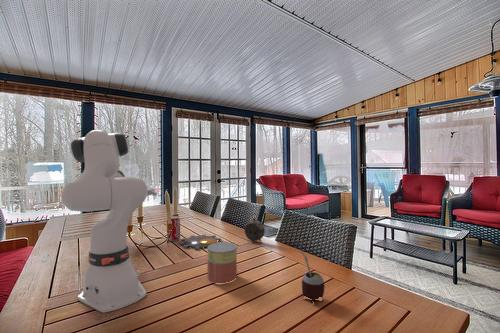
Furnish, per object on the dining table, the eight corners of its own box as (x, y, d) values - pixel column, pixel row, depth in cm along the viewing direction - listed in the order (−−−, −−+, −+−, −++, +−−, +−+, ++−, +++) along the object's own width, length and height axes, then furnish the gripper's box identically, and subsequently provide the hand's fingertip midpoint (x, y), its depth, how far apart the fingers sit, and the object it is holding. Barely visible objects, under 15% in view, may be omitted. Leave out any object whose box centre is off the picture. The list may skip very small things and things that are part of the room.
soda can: (176, 242, 139) (176, 218, 138) (164, 241, 140) (164, 218, 140) (182, 238, 146) (182, 216, 145) (170, 237, 147) (170, 215, 147)
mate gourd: (325, 307, 78) (325, 258, 78) (299, 304, 79) (299, 257, 79) (322, 294, 85) (323, 250, 85) (298, 292, 87) (299, 248, 86)
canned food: (235, 270, 104) (235, 241, 104) (238, 283, 93) (238, 251, 92) (207, 272, 102) (207, 242, 102) (207, 286, 91) (207, 252, 91)
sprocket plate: (230, 242, 139) (230, 239, 139) (196, 253, 122) (196, 250, 122) (204, 234, 154) (204, 231, 154) (171, 243, 137) (171, 240, 137)
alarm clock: (265, 242, 139) (265, 213, 138) (260, 245, 134) (260, 215, 134) (248, 239, 144) (248, 211, 144) (242, 241, 140) (242, 212, 140)
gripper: (117, 188, 138) (138, 193, 134) (143, 183, 157) (162, 187, 153) (116, 199, 139) (137, 205, 135) (142, 193, 158) (161, 197, 154)
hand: (150, 195), depth 144 cm, fingers open, 8 cm apart
